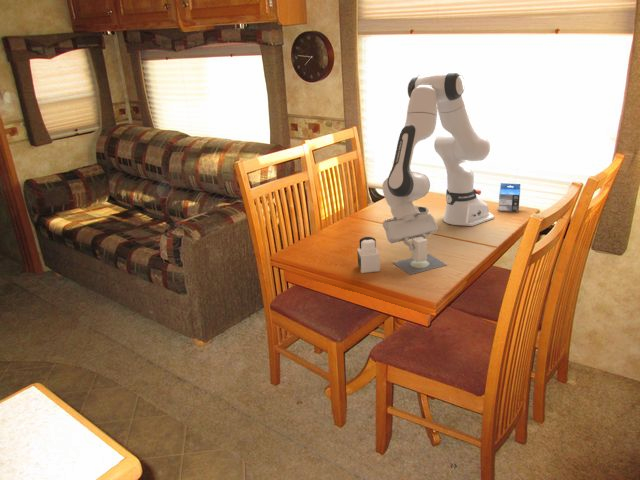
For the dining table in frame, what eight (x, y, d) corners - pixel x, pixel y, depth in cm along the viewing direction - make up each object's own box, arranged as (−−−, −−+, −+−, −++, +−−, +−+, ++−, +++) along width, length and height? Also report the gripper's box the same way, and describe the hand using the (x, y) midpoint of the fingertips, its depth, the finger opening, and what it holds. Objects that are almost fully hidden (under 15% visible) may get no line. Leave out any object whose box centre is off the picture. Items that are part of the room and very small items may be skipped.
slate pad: (429, 254, 205) (429, 253, 205) (447, 265, 195) (447, 264, 195) (393, 263, 200) (393, 262, 200) (409, 274, 190) (409, 274, 190)
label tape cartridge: (498, 211, 244) (499, 185, 240) (498, 208, 248) (500, 183, 243) (518, 212, 241) (520, 186, 236) (518, 209, 244) (520, 183, 240)
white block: (421, 256, 199) (421, 236, 196) (427, 260, 196) (427, 240, 193) (412, 258, 198) (411, 238, 195) (417, 262, 194) (417, 242, 191)
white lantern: (357, 265, 200) (356, 236, 196) (376, 263, 201) (375, 234, 196) (360, 273, 194) (359, 243, 189) (380, 271, 194) (379, 241, 190)
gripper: (383, 216, 194) (397, 250, 189) (431, 206, 201) (445, 238, 196) (378, 224, 199) (391, 257, 194) (424, 214, 206) (438, 245, 201)
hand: (419, 247), depth 195 cm, fingers closed on white block, 4 cm apart
